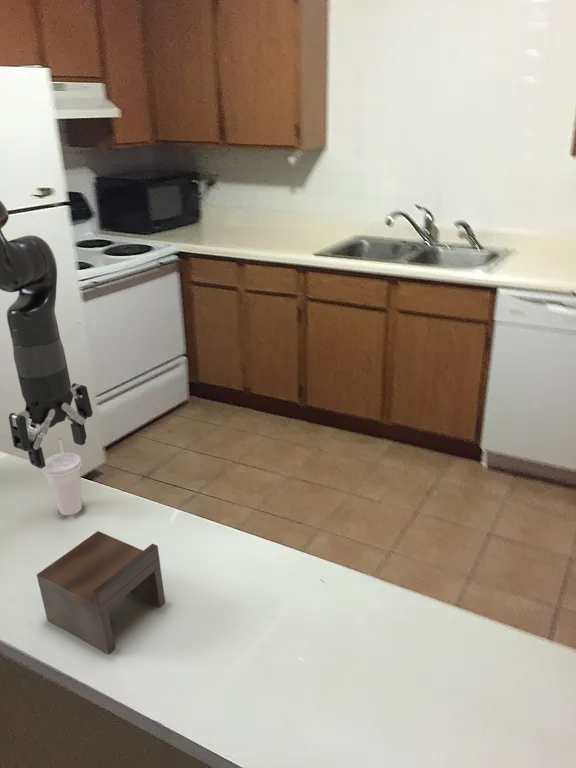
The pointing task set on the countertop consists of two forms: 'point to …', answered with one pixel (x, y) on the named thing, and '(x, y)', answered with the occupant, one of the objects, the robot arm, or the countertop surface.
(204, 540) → the countertop surface
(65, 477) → the smoothie
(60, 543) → the countertop surface
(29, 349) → the robot arm
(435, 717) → the countertop surface
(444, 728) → the countertop surface
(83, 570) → the shelf
